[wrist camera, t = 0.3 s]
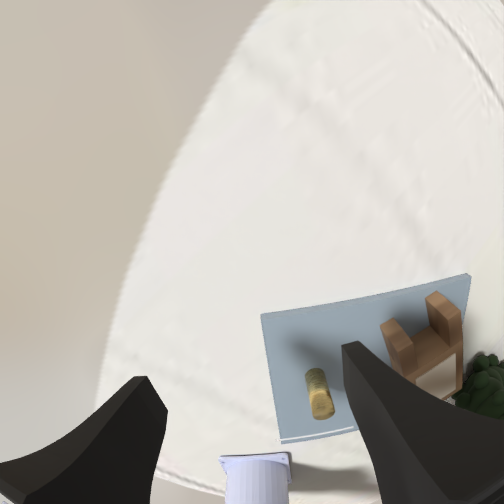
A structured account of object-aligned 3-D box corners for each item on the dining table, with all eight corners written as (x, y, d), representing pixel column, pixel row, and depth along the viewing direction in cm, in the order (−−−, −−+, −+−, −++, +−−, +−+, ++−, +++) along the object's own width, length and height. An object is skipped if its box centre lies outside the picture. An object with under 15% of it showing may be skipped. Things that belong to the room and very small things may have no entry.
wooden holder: (445, 367, 21) (462, 388, 17) (399, 395, 21) (413, 420, 18) (436, 290, 18) (461, 311, 14) (379, 325, 19) (398, 353, 15)
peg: (324, 380, 20) (334, 417, 16) (305, 383, 20) (312, 421, 16) (324, 366, 20) (335, 404, 16) (304, 369, 20) (312, 408, 16)
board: (433, 399, 23) (436, 404, 22) (276, 438, 24) (276, 445, 23) (466, 273, 18) (472, 277, 18) (253, 315, 19) (253, 321, 19)
